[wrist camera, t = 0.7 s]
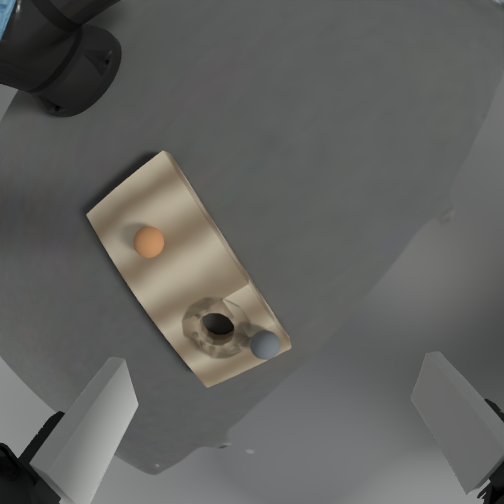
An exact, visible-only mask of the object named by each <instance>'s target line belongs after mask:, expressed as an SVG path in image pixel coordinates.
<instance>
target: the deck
mask: <svg viewBox="0 0 504 504" xmlns="http://www.w3.org/2000/svg"><path fill="white" fill-rule="evenodd" d="M86 215H87V217H88V219H89V221H90V223H91V225H92V226H93V228H94V230H95V232H96V234H97V235H98V237H99V239H100V241H101V242H102V244H103V246H104V247H105V249H106V251H107V252H108V254H109V256H110V257H111V259H112V261H113V262H114V264H115V266H116V267H117V269H118V270H119V272H120V273H121V275H122V277H123V278H124V280H125V281H126V283H127V284H128V286H129V287H130V289H131V290H132V292H133V293H134V295H135V296H136V298H137V299H138V300H139V302H140V303H141V305H142V306H143V308H144V309H145V310H146V312H147V313H148V315H149V316H150V317H151V319H152V320H153V321H154V323H155V324H156V326H157V327H158V328H159V330H160V331H161V332H162V334H163V335H164V336H165V337H166V339H167V340H168V341H169V343H170V344H171V345H172V346H173V348H174V349H175V350H176V351H177V353H178V354H179V355H180V356H181V358H182V359H183V360H184V361H185V362H186V364H187V365H188V366H189V367H190V368H191V370H192V371H193V372H194V373H195V374H196V375H197V377H198V378H199V379H200V380H201V381H202V382H203V384H204V385H205V386H206V387H207V388H208V387H210V386H213V385H215V384H217V383H220V382H222V381H224V380H227V379H229V378H231V377H233V376H235V375H238V374H240V373H242V372H244V371H246V370H248V369H251V368H253V367H255V366H257V365H259V364H261V363H263V362H265V361H267V360H262V359H259V358H257V357H256V356H254V354H253V353H252V351H251V349H250V342H251V339H252V337H253V336H254V335H255V334H256V333H257V332H259V331H263V330H267V331H271V332H273V333H275V334H276V335H277V336H278V338H279V340H280V350H279V352H278V353H277V355H279V354H281V353H283V352H285V351H287V350H288V349H290V348H291V344H290V338H289V336H288V334H287V333H286V331H285V330H284V328H283V327H282V325H281V324H280V322H279V321H278V319H277V318H276V316H275V315H274V313H273V312H272V310H271V309H270V307H269V306H268V304H267V303H266V301H265V300H264V298H263V297H262V295H261V294H260V292H259V291H258V289H257V287H256V286H255V284H254V283H253V281H252V280H251V278H250V277H249V275H248V274H247V272H246V271H245V269H244V268H243V266H242V265H241V263H240V262H239V260H238V258H237V257H236V255H235V254H234V252H233V251H232V249H231V248H230V246H229V245H228V243H227V241H226V240H225V238H224V237H223V235H222V234H221V232H220V231H219V229H218V227H217V226H216V224H215V223H214V221H213V220H212V218H211V217H210V215H209V213H208V212H207V210H206V209H205V207H204V206H203V204H202V202H201V201H200V199H199V198H198V196H197V195H196V193H195V191H194V190H193V188H192V187H191V185H190V183H189V182H188V180H187V179H186V177H185V176H184V174H183V172H182V171H181V169H180V168H179V166H178V164H177V163H176V161H175V160H174V158H173V156H172V155H171V154H170V153H167V152H165V151H162V152H160V153H159V154H158V155H156V156H155V157H154V158H152V159H151V160H150V161H148V162H147V163H146V164H145V165H143V166H142V167H141V168H139V169H138V170H137V171H136V172H134V173H133V174H132V175H131V176H130V177H128V178H127V179H126V180H125V181H123V182H122V183H121V184H120V185H119V186H118V187H116V188H115V189H114V190H113V191H112V192H111V193H109V194H108V195H107V196H106V197H105V198H104V199H103V200H102V201H100V202H99V203H98V204H97V205H96V206H95V207H94V208H93V209H92V210H91V211H90V212H89V213H88V214H86ZM146 226H152V227H155V228H157V229H158V230H159V231H160V232H161V233H162V235H163V238H164V246H163V249H162V251H161V252H160V253H159V254H158V255H157V256H155V257H153V258H144V257H142V256H140V255H139V254H138V253H137V252H136V251H135V249H134V245H133V239H134V236H135V234H136V232H137V231H138V230H139V229H141V228H143V227H146ZM209 313H220V314H222V315H224V316H226V317H228V318H229V319H230V320H231V322H232V323H233V325H234V329H233V331H231V332H229V333H227V334H225V335H216V334H214V333H212V332H210V331H208V329H207V328H206V327H205V325H204V324H203V318H202V317H203V316H205V315H207V314H209ZM277 355H276V356H277ZM268 360H269V359H268Z"/></svg>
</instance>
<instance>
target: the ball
mask: <svg viewBox="0 0 504 504" xmlns="http://www.w3.org/2000/svg"><path fill="white" fill-rule="evenodd" d="M133 245H134V249H135V251H136V252H137V253H138V254H139V255H140V256H142V257H144V258H153V257H155V256H157V255H158V254H159V253H160V252H161V251H162V249H163V246H164V238H163V235H162V233H161V232H160V231H159V230H158V229H157V228H155V227H152V226H146V227H143V228H141V229H139V230H138V231H137V232H136V234H135V236H134V239H133Z"/></svg>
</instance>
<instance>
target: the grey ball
mask: <svg viewBox="0 0 504 504" xmlns="http://www.w3.org/2000/svg"><path fill="white" fill-rule="evenodd" d="M250 349H251V351H252V353H253V354H254V356H256V357H257V358H259V359H262V360H268V359H271V358H273V357H275V356H276V355H277V353H278V352H279V350H280V340H279V338H278V336H277V335H276V334H275V333H273V332H271V331H267V330H263V331H259V332H257V333H256V334H255V335H254V336H253V337H252V339H251V342H250Z"/></svg>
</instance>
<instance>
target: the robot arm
mask: <svg viewBox="0 0 504 504" xmlns="http://www.w3.org/2000/svg"><path fill="white" fill-rule="evenodd" d="M118 1H120V0H0V84H3V85H7V86H10V87H13V88H16V89H19V90H22V91H25V92H28V93H30V94H31V95H32V96H33V97H34V98H35V99H36V100H37V101H38V102H39V103H40V105H41V106H42V107H43V108H44V109H45V110H46V111H48V112H50V113H52V114H55V115H58V116H62V117H69V116H73V115H76V114H79V113H81V112H83V111H84V110H86V109H87V108H89V107H90V106H92V105H93V104H94V103H95V102H96V101H97V100H98V99H99V98H100V97H101V96H102V95H103V94H104V93H105V91H106V90H107V89H108V87H109V86H110V84H111V83H112V81H113V79H114V78H115V76H116V73H117V71H118V68H119V65H120V62H121V46H120V43H119V41H118V40H117V39H116V38H115V37H114V36H113V35H112V34H111V33H110V32H108V31H107V30H105V29H102V28H98V27H94V26H90V25H86V24H85V23H86V22H87V21H89V20H90V19H92V18H93V17H95V16H96V15H98V14H99V13H101V12H102V11H104V10H105V9H107V8H108V7H110V6H112V5H113V4H115V3H117V2H118ZM410 400H411V401H412V403H413V404H414V406H415V407H416V409H417V411H418V412H419V414H420V415H421V417H422V418H423V420H424V422H425V423H426V425H427V427H428V428H429V430H430V432H431V433H432V435H433V437H434V438H435V440H436V441H437V443H438V445H439V447H440V448H441V450H442V452H443V453H444V455H445V457H446V459H447V460H448V462H449V464H450V466H451V467H452V469H453V471H454V473H455V475H456V476H457V478H458V480H459V482H460V484H461V486H462V487H463V489H464V491H465V493H466V495H468V494H470V493H471V492H473V491H475V490H476V489H478V488H480V487H481V486H482V485H483V484H484V483H485V482H486V481H487V480H488V479H489V480H490V481H491V482H490V483H489V484H488V485H487V486H486V487H485V488H484V489H483V490H482V491H481V492H480V493H479V495H478V497H477V498H480V497H481V496H482V495H483V494H484V493H485V492H486V494H485V495H484V496H483V498H482V499H484V503H483V504H504V413H502V412H501V410H500V409H499V408H498V406H497V405H496V404H495V403H493V402H491V401H489V400H488V399H483V398H482V397H481V396H480V395H479V394H478V392H477V391H476V390H475V389H474V388H473V387H472V386H471V385H470V384H469V383H468V381H467V380H466V379H465V378H464V377H463V376H462V375H461V374H460V373H459V372H458V371H457V370H456V369H455V368H454V367H453V366H452V364H451V363H450V362H448V360H447V359H446V358H445V357H444V356H443V355H442V354H441V353H440V352H439V351H436V352H431V353H426V355H425V358H424V362H423V364H422V367H421V370H420V373H419V376H418V379H417V382H416V385H415V387H414V390H413V392H412V395H411V397H410ZM137 407H138V402H137V399H136V396H135V392H134V389H133V386H132V382H131V379H130V375H129V372H128V368H127V365H126V361H125V359H122V358H115V357H110V358H109V359H108V360H107V361H106V362H105V364H104V365H103V366H102V367H101V369H100V370H99V371H98V372H97V374H96V375H95V376H94V377H93V379H92V380H91V381H90V382H89V384H88V385H87V386H86V387H85V389H84V390H83V391H82V393H81V394H80V395H79V396H78V398H77V399H76V400H75V402H74V403H73V404H72V406H71V407H70V408H69V409H68V411H67V412H66V413H63V412H61V411H59V412H57V413H56V414H54V415H53V416H51V417H50V418H49V419H48V420H47V422H46V423H45V424H44V425H43V428H41V429H40V431H39V432H38V435H36V436H35V437H34V438H33V440H32V441H31V442H30V444H29V445H28V446H27V448H26V449H25V450H24V452H23V453H22V454H21V456H20V457H19V458H17V457H16V456H15V455H14V453H13V452H12V451H11V449H10V448H9V447H8V446H7V445H5V444H4V443H0V504H59V501H60V499H62V500H63V501H64V502H66V503H67V504H90V503H91V501H92V499H93V497H94V495H95V492H96V490H97V488H98V486H99V484H100V482H101V480H102V478H103V475H104V473H105V471H106V469H107V467H108V465H109V463H110V461H111V459H112V457H113V455H114V453H115V451H116V449H117V447H118V445H119V443H120V441H121V439H122V437H123V435H124V433H125V431H126V429H127V427H128V425H129V423H130V421H131V419H132V417H133V415H134V413H135V411H136V409H137Z"/></svg>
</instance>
